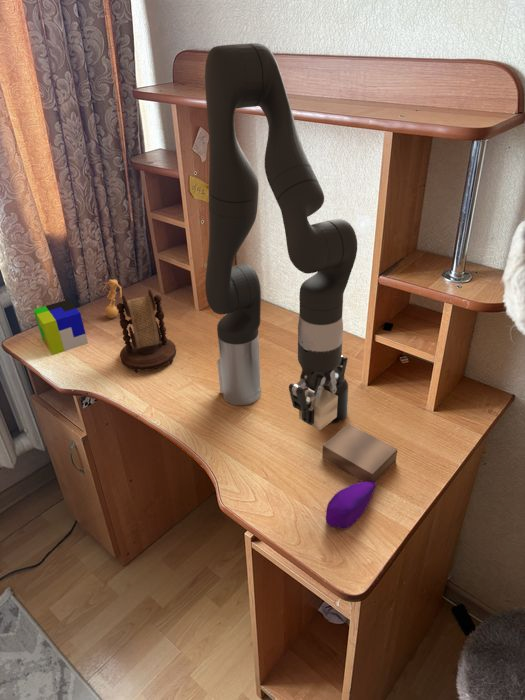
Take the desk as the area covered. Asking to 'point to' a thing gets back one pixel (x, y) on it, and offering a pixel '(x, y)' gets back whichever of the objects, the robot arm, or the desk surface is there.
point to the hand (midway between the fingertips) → (317, 414)
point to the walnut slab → (359, 454)
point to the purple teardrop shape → (349, 504)
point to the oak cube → (323, 409)
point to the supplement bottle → (341, 400)
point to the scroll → (144, 334)
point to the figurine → (112, 298)
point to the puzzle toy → (61, 326)
